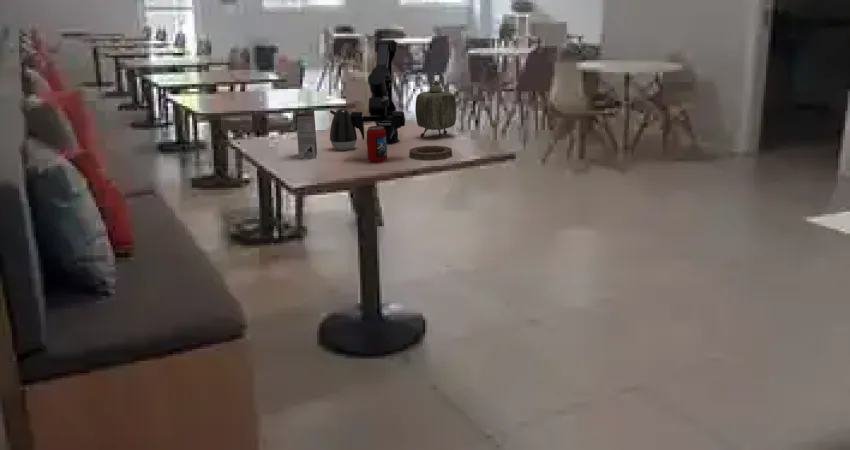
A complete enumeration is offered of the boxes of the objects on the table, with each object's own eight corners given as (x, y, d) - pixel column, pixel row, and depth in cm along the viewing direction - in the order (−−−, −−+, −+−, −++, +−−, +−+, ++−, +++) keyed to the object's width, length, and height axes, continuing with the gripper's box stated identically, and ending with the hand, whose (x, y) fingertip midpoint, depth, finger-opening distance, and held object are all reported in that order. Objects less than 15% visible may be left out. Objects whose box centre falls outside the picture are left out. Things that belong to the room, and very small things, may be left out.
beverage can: (384, 163, 283) (383, 128, 279) (365, 163, 284) (364, 128, 281) (389, 159, 289) (387, 125, 286) (370, 158, 291) (369, 125, 287)
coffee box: (299, 153, 302) (296, 110, 297) (317, 153, 302) (314, 109, 298) (298, 159, 293) (295, 114, 289) (316, 158, 294) (313, 113, 289)
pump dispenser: (339, 145, 315) (337, 105, 311) (362, 147, 311) (360, 107, 306) (324, 150, 307) (322, 109, 302) (348, 152, 302) (345, 111, 298)
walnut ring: (401, 157, 291) (401, 152, 291) (424, 149, 303) (424, 144, 303) (437, 161, 284) (437, 155, 283) (459, 153, 296) (459, 147, 295)
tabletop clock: (446, 133, 334) (445, 71, 327) (459, 136, 327) (458, 73, 319) (416, 137, 327) (414, 74, 320) (427, 140, 319) (426, 76, 312)
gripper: (349, 88, 285) (346, 125, 278) (403, 87, 284) (401, 124, 276) (354, 108, 295) (350, 144, 287) (406, 107, 293) (404, 143, 286)
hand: (376, 138), depth 284 cm, fingers open, 9 cm apart
